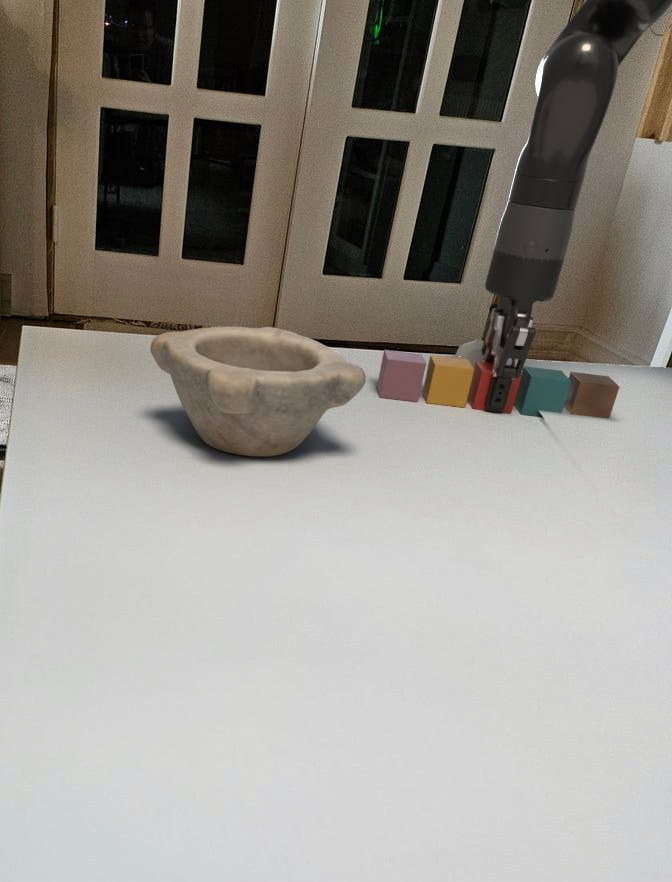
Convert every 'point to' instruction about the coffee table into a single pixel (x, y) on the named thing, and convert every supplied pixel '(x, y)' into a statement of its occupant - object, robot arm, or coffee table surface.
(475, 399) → the red block
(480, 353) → the pale two-lobed sculpture
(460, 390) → the block
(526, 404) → the block
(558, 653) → the coffee table surface
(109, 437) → the coffee table surface
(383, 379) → the block
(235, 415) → the mortar
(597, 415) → the block
